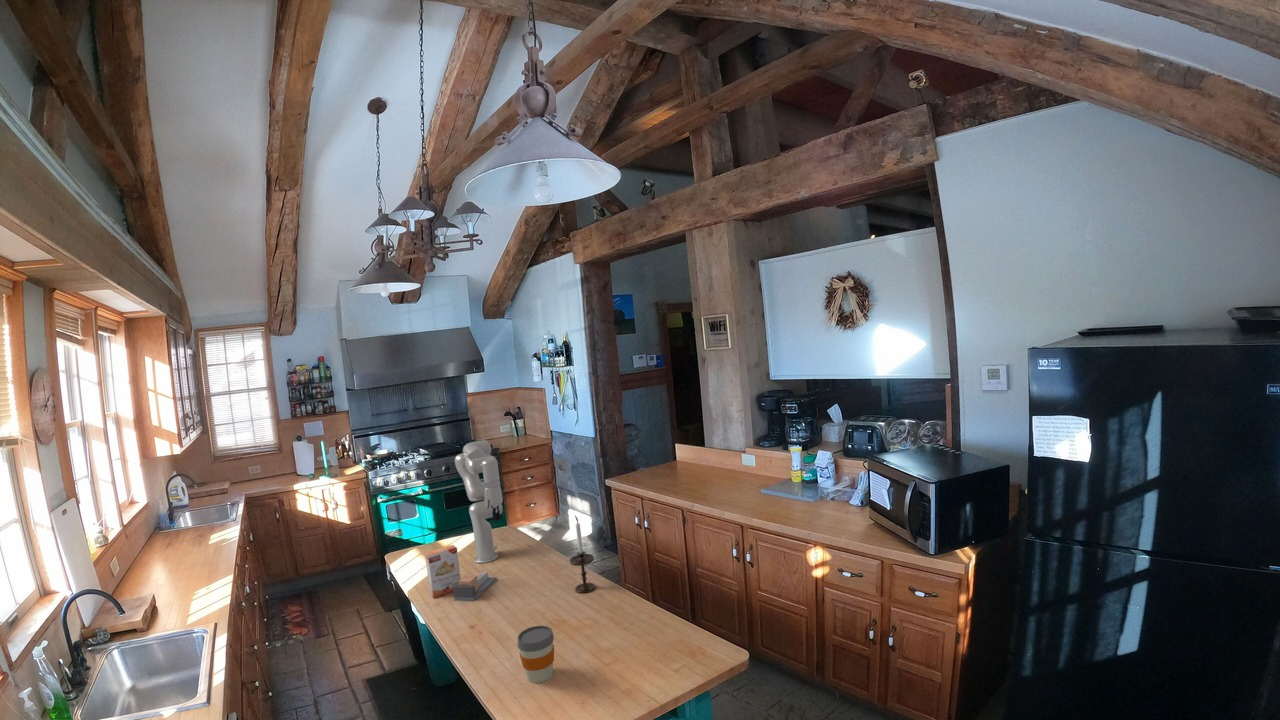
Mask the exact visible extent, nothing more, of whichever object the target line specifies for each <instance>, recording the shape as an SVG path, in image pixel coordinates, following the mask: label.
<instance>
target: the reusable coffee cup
mask: <svg viewBox="0 0 1280 720" xmlns="http://www.w3.org/2000/svg"><path fill="white" fill-rule="evenodd" d="M554 638H555V637H554V633H553V629H552V628H551V627H549V626H547V625H535V626H534V625H533V626H530V627H527V628H526V629H524V630H522V631H520V633H519V634H518V635H517V648H518V649H519V657H520V661H521V665H522V668H523V669H524V670H525V676H526V679H527V681H528V682H529V683H532V684H540V682H541V683H544V682H547V681H548V680H549V679H550V678H552V676H553V674H554V673H553V672H554V671H553V670H554V660H555V645H554V640H555V639H554Z"/></svg>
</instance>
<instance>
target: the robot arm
mask: <svg viewBox="0 0 1280 720" xmlns="http://www.w3.org/2000/svg"><path fill="white" fill-rule="evenodd" d="M491 452H492V446H491V443H490V441H488V440H486V439H483V440H477V441H471V442H469V443H466V444H465V445H464V446H463V448H462V453H460V454H457V455H456V456H455V457H454V464H455V468H456V471H457V472H458V474H459V475H460V477H461V478H462V481H463V484H464V488H465V491H466V496H467V497H468V498H467V499H468V500H469V501H470V502H474V503H472V504H470V506H469V508H468V513H469V516H470V519H471V524H472V531H473V537H474V543H475V544H474V546H475V553H476V556H475V557H474V559H473V561H474V563H476V564H486V563H490V562H492V561H495V560H497V559H498V558H499V555H498V553H497V552H496V550H497V549H498V546H497V545H494V538H493V537H494V536H493V529H492V525H491V523H490V522H489V521H488V520H486V519H489V518H492V520H493V521H494V522H495V521H500V520H501V514H502V513H503V505H502V504H503V502H504V501H503V500H504V499H503V492H502V488H501V481H500V479H501V478H500V472H499V464H498V460H497V458H496V456H494V455H491V454H492V453H491ZM481 473H482V475H483V481H481V479H480V475H479V474H481Z"/></svg>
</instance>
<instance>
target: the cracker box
mask: <svg viewBox="0 0 1280 720" xmlns="http://www.w3.org/2000/svg"><path fill="white" fill-rule="evenodd" d="M458 555H459V554H458V548H457V546H455V545H454V544H452V545H448V546H445V547H442V548H438V549H433V550H431V551H427V552H425V553H424V556H425V557H424V558H425V565H426V573H427V574H426V575H427V580H428V589H429V595H430V596H431V597H432V598H433V599H434V598H435V599H436V598H437V597H441V596H443V595H446V594H449V593H452V592H453V593H454V591H453V587H454V586H455V585H459V582H458V581H459V580H461V579H462V578H461V570H460V564H459V563H460V562H459V561H460V560H459V556H458Z"/></svg>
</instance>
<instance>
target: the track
mask: <svg viewBox="0 0 1280 720" xmlns="http://www.w3.org/2000/svg"><path fill="white" fill-rule="evenodd" d="M488 572H489V571H483V572H481V574H479V575H477V581H478V590H477V591H476V592H475V586H474V585H455V586H454V587H453V597H454V598H453V599H454V601H456V602H457V601H458V602H460V601H461V602H463V601H464V602H465V601H466V602H467V601H468V602H475V600H477V599H478V598H479V597H481V595H482V594H483V593H484V592H485V591H487V590H488V589H489V588H490V587H491V586H492V585H493V584H494V583H495V582H496V581H497V579H498V578H497V577H496V576H489V573H488Z"/></svg>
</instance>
